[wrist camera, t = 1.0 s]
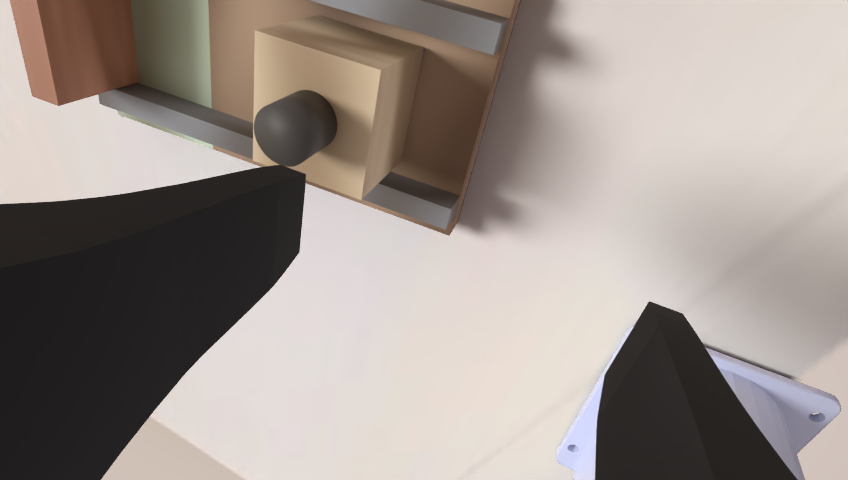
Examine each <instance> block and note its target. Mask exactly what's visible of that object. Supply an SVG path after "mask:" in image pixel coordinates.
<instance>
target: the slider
mask: <svg viewBox="0 0 848 480" xmlns="http://www.w3.org/2000/svg"><path fill="white" fill-rule="evenodd" d="M423 49H424V47H421V46H417V45H414V44H411V43H407V42H404V41H401V40H397V39H394V38H391V37H388V36H384V35H381V34H378V33H374V32H371V31H368V30H364V29H361V28H358V27H355V26H351V25H348V24H345V23H341V22H338V21H335V20H332V19H328V18H325V17H322V16H318V15H315V16H311V17H307V18H303V19H299V20H295V21H291V22H287V23H282V24H278V25H274V26H270V27H266V28H262V29H258V30H255V48H254V114H253V161H255V162H258V163H261V164H264V165H266V166H273V165H283V166H286V167H288V168H291V169H294V170H296V171H299V172H302V173H304V174H306V180H307V181H310V182H313V183H316V184H318V185H321V186H324V187H327V188H329V189H332V190H335V191H338V192H340V193H343V194H346V195H348V196H351V197H354V198H357V199H359V200H362V199H363V198H364V197H365V196H366V195H367V194H368V193H369V192H370V191H371V190H372V189H373V188H374V187H375V186H376V185H377V184H378V183H379V182H380V181H381V180H382V179H383V178H384V177H385V176H386V175H387V174H388V173H389V172H390V171H391V170H392V169H393V168H395V167H396V166H397V165H398V164H399V163H400V162H401V161H402V157H403V151H404V146H405V141H406V136H407V131H408V126H409V121H410V116H411V110H412V105H413V100H414V95H415V90H416V85H417V80H418V75H419V70H420V64H421V59H422V54H423Z"/></svg>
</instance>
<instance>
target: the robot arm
mask: <svg viewBox="0 0 848 480" xmlns="http://www.w3.org/2000/svg"><path fill="white" fill-rule="evenodd" d="M305 182H306V174H304V173H302V172H299V171H296V170H294V169H291V168H288V167H286V166H283V165H273V166H266V167H260V168H255V169H250V170H245V171H240V172H235V173H230V174H226V175H221V176H216V177H212V178H207V179H202V180H198V181H193V182H188V183H183V184H178V185H172V186H166V187H161V188H155V189H150V190H144V191H138V192H133V193H127V194H120V195H112V196H105V197H97V198H87V199H77V200H67V201H55V202H38V203H17V204H0V480H101V479H102V477H103V475H104V474H105V473H106V472H107V470H108V469H109V468H110V466H111V465H112V464H113V462H114V461H115V460H116V458H117V457H118V456H119V454H120V453H121V452H122V450H123V449H124V448H125V447H126V445H127V444H128V443H129V442H130V440H131V439H132V438H133V437H134V435H135V434H136V433H137V432H138V430H139V429H140V428H141V426H142V425H143V424H144V423H145V421H146V420H147V419H148V418H149V416H150V415H151V414H152V413H153V411H154V410H155V409H156V408H157V407H158V405H159V404H160V403H161V402H162V401H163V399H164V398H165V397H166V396H167V395H168V393H169V392H170V391H171V390H172V389H173V387H174V386H175V385H176V384H177V383H178V381H179V380H180V379H181V378H182V377H183V375H184V374H185V373H186V372H187V371H188V370H189V369H190V368H191V367H192V366H193V365H194V364H195V363H196V361H197V360H198V359H199V358H200V357H201V356H202V355H203V354H204V353H205V352H206V351H207V350H208V349H209V348H211V347H212V346H213V345H214V344H215V343H216V342H217V341H218V340H219V339H220V338H221V337H222V336H223V335H224V334H225V333H226V332H227V331H228V330H229V329H230V328H231V327H232V326H233V325H234V324H235V323H236V322H237V321H238V320H239V319H241V318H242V317H243V316H244V315H245V314H246V313H247V312H248V311H249V310H250V309H251V308H252V307H253V306H254V305H255V304H256V303H257V302H258V301H259V300H260V299H261V298H262V297H263V296H264V295H265V294H266V293H267V292H268V291H269V290H270V289H271V288H272V287H273V286H274V285H275V283H276V282H277V281H278V280H279V278H280V277H281V276H282V275H283V273H284V272H285V271H286V269H287V268H288V267H289V265H290V264H291V263H292V261H293V260H294V259H295V257H296V256H297V255H298V253H299V249H300V238H301V227H302V215H303V204H304V193H305ZM840 411H841V406H840V403H839V401H838V399H837V398H836V397H835V396H833V395H831V394H829V393H826V392H824V391H821V390H818V389H816V388H813V387H810V386H808V385H805V384H802V383H800V382H797V381H794V380H792V379H789V378H786V377H783V376H781V375H778V374H775V373H773V372H770V371H767V370H765V369H762V368H759V367H757V366H754V365H751V364H749V363H746V362H743V361H741V360H738V359H735V358H732V357H730V356H727V355H724V354H722V353H719V352H716V351H714V350H711V349H708V348H706V347H704V345H703V343H702V342H701V340H700V339H699V337H698V336H697V334H696V333H695V331H694V330H693V328H692V326H691V325H690V324H689V322H688V321H687V319H686V318H685V317H684V315H683V314H682V313H679V312H677V311H674V310H671V309H668V308H666V307H663V306H660V305H658V304H655V303H652V302H650V301H649V303H648V304H647V306H646V308H645V309H644V311H643V312H642V314H641V316H640V317H639V319H638V321H637V322H636V324H635V325H634V326H631V327H630V328H629V329H628V331H627V333H626V334H625V336H624V338H623V339H622V341H621V343H620V344H619V346H618V348H617V350H616V351H615V353H614V355H613V356H612V358H611V360H610V361H609V363H608V365H607V366H606V368H605V370H604V372H603V373H602V375H601V377H600V378H599V380H598V382H597V383H596V385H595V387H594V388H593V390H592V392H591V394H590V395H589V397H588V399H587V400H586V402H585V404H584V405H583V407H582V409H581V410H580V412H579V414H578V416H577V417H576V419H575V421H574V422H573V424H572V426H571V427H570V429H569V431H568V432H567V434H566V436H565V438H564V439H563V441H562V443H561V444H560V446H559V448H558V449H557V452H556V460H557V462H558V463H559V464H561V465H563V466H565V467H567V468H570V469H572V470H574V475H573V480H805V478H804V475H803V473H802V469H801V466H800V463H799V460H798V457H797V453H798V452H799V451H800V450H801V449H802V448H803V447H804V446H806V444H808V443H809V442H810V441H811V440H812V439H813V438H814V437H815V436H816V435H817V434H818V433H819V432H820V431H821V430H822V429H823V428H824V427H825V426H826V425H827V424H828V423H830V422H831V421H832V420H833V419H834V418H835V417H836V416H837V415H838V414H839V413H840ZM815 412H819V414H816V415H813V414H811V413H815ZM573 445H576V446H573Z"/></svg>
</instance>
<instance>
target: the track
mask: <svg viewBox="0 0 848 480" xmlns="http://www.w3.org/2000/svg"><path fill="white" fill-rule="evenodd" d="M10 3H11V7H12V11H13V16H14V20H15V24H16V29H17V33H18V37H19V41H20V46H21V50H22V54H23V58H24V63H25V67H26V71H27V76H28V80H29V84H30V88H31V93H32V96H33V97H36V98H39V99H41V100H44V101H47V102H49V103H52V104H55V105H58V106H60V105H63V104H66V103H70V102H73V101H77V100H80V99H83V98H87V97H90V96H94V95H97V94H98V95H99V101H100V104H102V105H105V106H107V107H110V108H113V109H116V110H118V114H119V115H122V116H124V117H127V118H130V119H133V120H135V121H138V122H141V123H143V124H146V125H149V126H152V127H154V128H157V129H160V130H163V131H165V132H168V133H171V134H173V135H176V136H179V137H182V138H184V139H187V140H190V141H193V142H195V143H198V144H201V145H203V146H206V147H209V148H212V149H214V150H217V151H220V152H223V153H225V154H228V155H231V156H233V157H236V158H239V159H242V160H244V161H247V162H250V163H253V164H255V165H258V166H261V167H266V165H264V164H261V163H258V162H255V161H253V114H254V48H255V30H258V29H262V28H266V27H270V26H274V25H278V24H282V23H287V22H291V21H295V20H299V19H303V18H307V17H311V16H315V15H318V16H322V17H325V18H328V19H332V20H335V21H338V22H341V23H345V24H348V25H351V26H355V27H358V28H361V29H364V30H368V31H371V32H374V33H378V34H381V35H384V36H388V37H391V38H394V39H397V40H401V41H404V42H407V43H411V44H414V45H417V46H421V47H424V49H423V54H422V59H421V64H420V70H419V75H418V80H417V85H416V90H415V95H414V100H413V105H412V110H411V116H410V121H409V126H408V131H407V136H406V141H405V146H404V151H403V157H402V161H401V162H400V163H399V164H398V165H397V166H396V167H395V168H393V169H392V170H391V171H390V172H389V173H388V174H387V175H386V176H385V177H384V178H383V179H382V180H381V181H380V182H379V183H378V184H377V185H376V186H375V187H374V188H373V189H372V190H371V191H370V192H369V193H368V194H367V195H366V196H365V197H364V198H363V199H362V200H359V199H357V198H354V197H351V196H348V195H346V194H343V193H340V192H338V191H335V190H332V189H329V188H327V187H324V186H321V185H318V184H316V183H313V182H310V181H307V180H306V182H305V183H307V184H310V185H313V186H315V187H318V188H321V189H324V190H326V191H329V192H332V193H334V194H337V195H340V196H343V197H345V198H348V199H351V200H354V201H356V202H359V203H362V204H364V205H367V206H370V207H373V208H375V209H378V210H381V211H384V212H386V213H389V214H392V215H394V216H397V217H400V218H403V219H405V220H408V221H411V222H414V223H416V224H419V225H422V226H424V227H427V228H430V229H433V230H435V231H438V232H441V233H444V234H446V235H450V233H451V232H452V230H453V229H454V227H455V225H456V224H457V222H458V218H459V215H460V211H461V208H462V204H463V201H464V197H465V194H466V190H467V187H468V183H469V180H470V176H471V173H472V169H473V166H474V162H475V159H476V155H477V151H478V148H479V144H480V141H481V137H482V134H483V130H484V127H485V123H486V120H487V116H488V113H489V109H490V106H491V102H492V99H493V95H494V92H495V88H496V85H497V81H498V78H499V74H500V71H501V67H502V64H503V60H504V56H505V53H506V49H507V46H508V42H509V39H510V35H511V32H512V28H513V25H514V21H515V18H516V14H517V11H518V7H519V4H520V0H10Z"/></svg>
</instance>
